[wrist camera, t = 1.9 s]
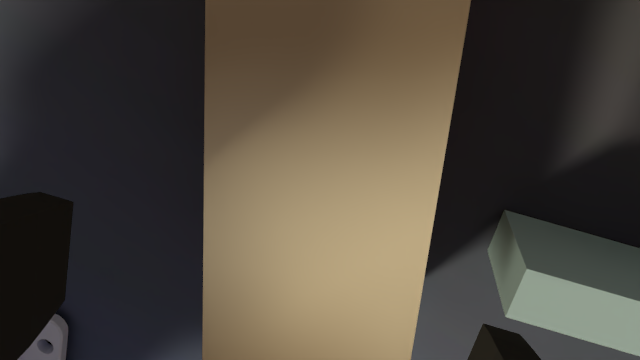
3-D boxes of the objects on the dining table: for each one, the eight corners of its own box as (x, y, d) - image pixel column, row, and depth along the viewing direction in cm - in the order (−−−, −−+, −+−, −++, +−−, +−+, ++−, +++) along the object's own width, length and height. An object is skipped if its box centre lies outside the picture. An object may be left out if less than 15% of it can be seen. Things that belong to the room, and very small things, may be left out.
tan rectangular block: (402, 287, 16) (399, 420, 11) (260, 266, 16) (202, 387, 12) (501, -358, 11) (571, -596, 6) (292, -364, 11) (210, -591, 7)
